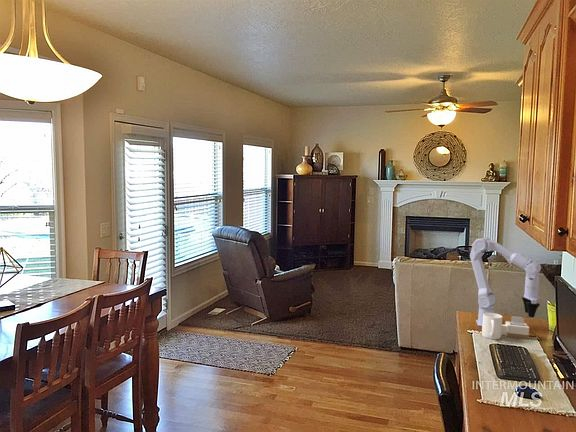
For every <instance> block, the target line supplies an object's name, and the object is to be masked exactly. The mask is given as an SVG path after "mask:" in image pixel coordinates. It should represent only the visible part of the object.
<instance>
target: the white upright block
mask: <svg viewBox="0 0 576 432" xmlns="http://www.w3.org/2000/svg"><path fill="white" fill-rule="evenodd" d="M510 322H511V325H518V326H524V323H525V318H524V316H516V315H515V316H514V315H513V316H511V321H510Z"/></svg>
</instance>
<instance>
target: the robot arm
mask: <svg viewBox="0 0 576 432" xmlns="http://www.w3.org/2000/svg"><path fill="white" fill-rule="evenodd" d="M488 251H491V252H492V251H494V252H497V253H498V254H500V255H502V256H504V257H506V258H507V259H509V260H510V262H511V264H513V265H515V266H516V267H518V268H519V269H522V270H524V271H525V281H524V295H523V296H522V297H521V300H522V302H523V306H524V313H526V314H528V318H534V317H536V316H535V315H536V314H537V310H538V308H539V306H540V303H538V299H541V296H539V285H540V272H541V269H542V266H541V264H540V263H539V262H538V261H537V260H533V258H529V257H527V256H525V255H524V254H523V253H522V252H513V251H511V250H510V249H508V248H506V247H505V246H504V245H502V244H500V243H498V242H497V241H495V240H493V239H490V238H489V237H485V236H484V237H481V238H477V239H475V241H474V242H472V245H471V250H470V253H469V258H470V261H471V265H472V270H473V273H474V277H475V281H476V284H477V285H476V286H477V288H478V293H477V296H478V300H477V302H478V316H477V319H475V322H476V324H477V326H478V327H482V324H483V314H484V313H495V309H496V308H495V306H494V305H495V304H496V302H497V297H496V295H495V294H494V293H493V290H492V289H491V287H490V284H489V281H488V277H487V273H486V269H485V266H484V263H483V259H482V258H483V257H482V256H484V254H485V253H486V252H488Z"/></svg>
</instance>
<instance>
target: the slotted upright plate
mask: <svg viewBox="0 0 576 432" xmlns="http://www.w3.org/2000/svg"><path fill="white" fill-rule="evenodd" d="M529 334H530V326H529V325H528V324H527V323H525V322H524V326H518V325H511V321H507V320H506V321H505V323H504V324H503V323H502V330H501V336H506V337H507V338H514V339H522V340H529V337H530V336H529Z"/></svg>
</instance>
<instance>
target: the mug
mask: <svg viewBox="0 0 576 432" xmlns="http://www.w3.org/2000/svg"><path fill="white" fill-rule="evenodd" d="M502 324H503V315H501V314H499V313H495V312H494V313H484V314H483V324H482V326H481V336H482V337H483V336H484V338H486V339H488V340H500V339H501V337H502V335H501V330H502Z"/></svg>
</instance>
